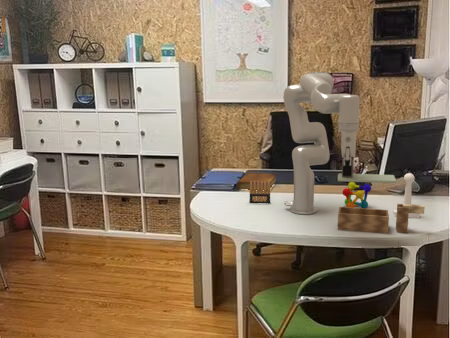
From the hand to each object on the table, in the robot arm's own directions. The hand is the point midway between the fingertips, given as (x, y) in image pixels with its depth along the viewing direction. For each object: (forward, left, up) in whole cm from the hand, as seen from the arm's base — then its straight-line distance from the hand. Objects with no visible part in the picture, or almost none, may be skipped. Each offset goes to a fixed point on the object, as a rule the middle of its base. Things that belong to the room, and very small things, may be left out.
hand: (347, 174), depth 176 cm
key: (+26, +13, -18) cm, 34 cm away
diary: (-52, +74, -26) cm, 94 cm away
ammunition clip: (-43, +39, -26) cm, 64 cm away
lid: (+7, 0, -2) cm, 7 cm away
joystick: (+26, +35, -26) cm, 51 cm away
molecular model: (+4, +42, -26) cm, 50 cm away
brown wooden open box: (+11, +13, -26) cm, 31 cm away
